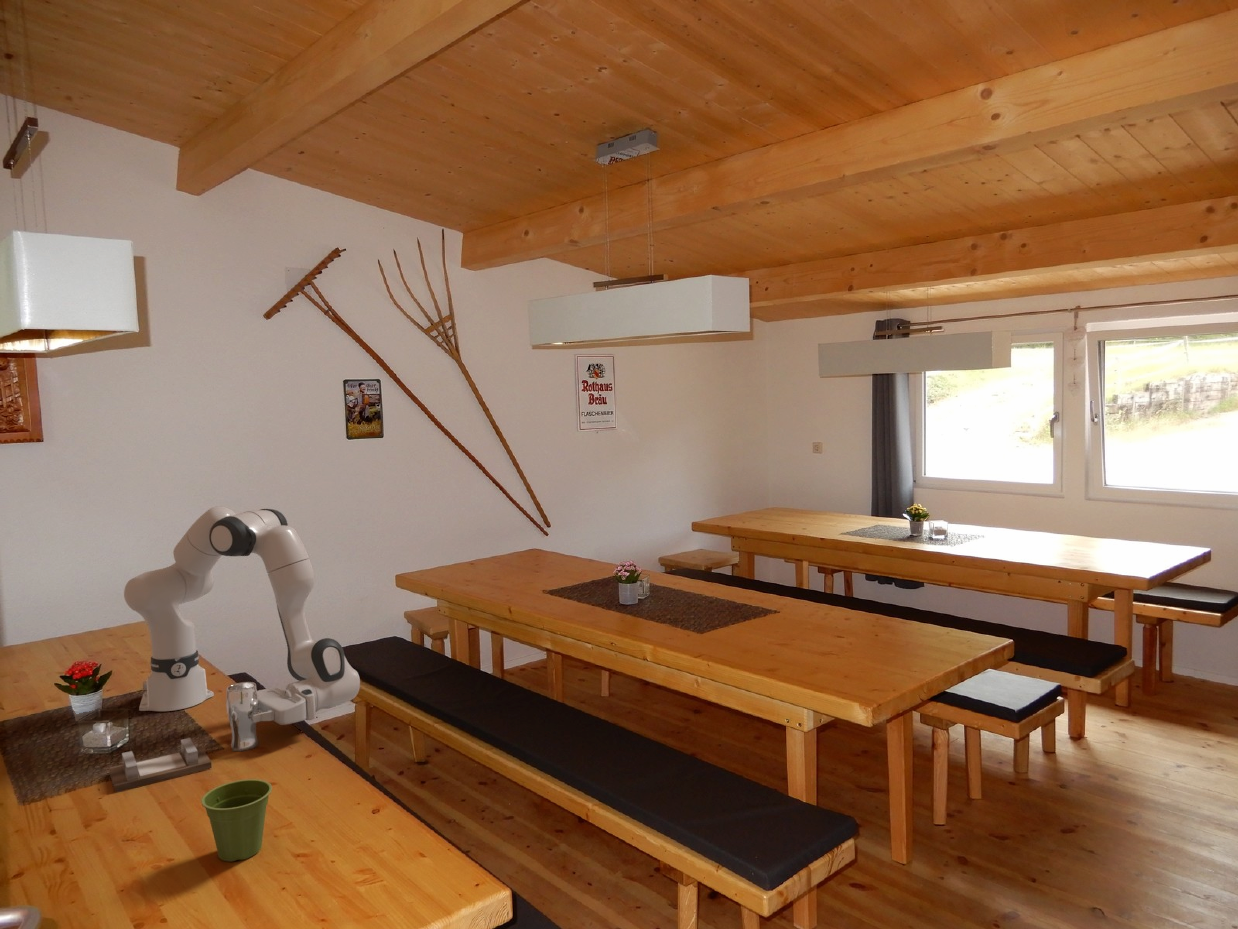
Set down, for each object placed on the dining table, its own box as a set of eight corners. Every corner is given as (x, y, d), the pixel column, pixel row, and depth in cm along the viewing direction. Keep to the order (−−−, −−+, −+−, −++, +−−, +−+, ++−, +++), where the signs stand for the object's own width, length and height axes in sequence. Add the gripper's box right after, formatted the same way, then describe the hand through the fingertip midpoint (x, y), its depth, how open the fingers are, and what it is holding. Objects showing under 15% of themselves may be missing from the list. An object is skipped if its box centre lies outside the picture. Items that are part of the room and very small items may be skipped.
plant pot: (191, 870, 147) (187, 808, 146) (226, 836, 158) (222, 779, 158) (256, 870, 146) (252, 808, 145) (286, 836, 158) (283, 778, 157)
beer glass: (248, 753, 198) (244, 691, 197) (222, 751, 199) (219, 690, 198) (266, 741, 205) (263, 682, 204) (241, 740, 206) (238, 681, 205)
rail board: (109, 774, 188) (108, 754, 187) (201, 752, 199) (200, 733, 199) (115, 792, 178) (113, 772, 178) (211, 768, 189) (210, 749, 189)
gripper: (280, 678, 219) (226, 692, 209) (316, 695, 205) (260, 711, 195) (281, 702, 219) (227, 716, 209) (317, 720, 205) (262, 737, 195)
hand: (243, 714), depth 202 cm, fingers open, 8 cm apart
